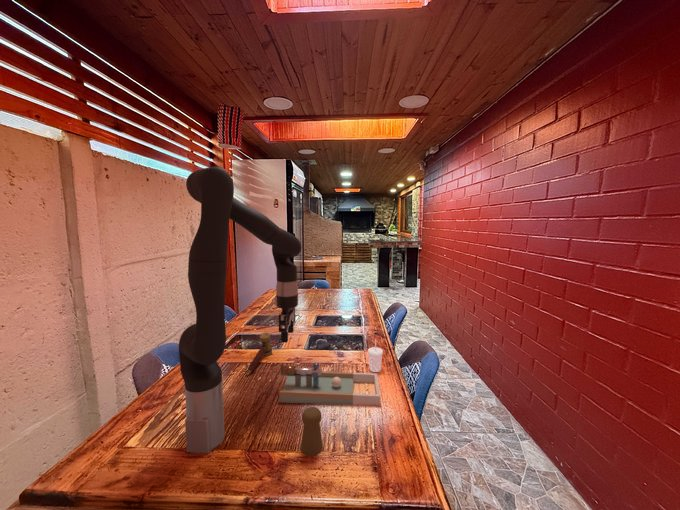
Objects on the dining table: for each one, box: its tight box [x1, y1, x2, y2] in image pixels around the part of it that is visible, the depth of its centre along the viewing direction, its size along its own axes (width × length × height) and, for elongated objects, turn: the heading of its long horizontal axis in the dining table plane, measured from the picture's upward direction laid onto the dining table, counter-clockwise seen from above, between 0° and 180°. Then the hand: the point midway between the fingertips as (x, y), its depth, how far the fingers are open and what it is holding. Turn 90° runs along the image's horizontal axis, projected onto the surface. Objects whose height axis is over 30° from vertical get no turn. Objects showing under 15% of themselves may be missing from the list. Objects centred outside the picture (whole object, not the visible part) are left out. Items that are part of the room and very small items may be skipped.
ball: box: [332, 377, 341, 387], centre depth 99 cm, size 4×4×4 cm
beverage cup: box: [367, 338, 384, 373], centre depth 113 cm, size 6×6×14 cm
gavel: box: [246, 332, 273, 376], centre depth 119 cm, size 21×5×10 cm, turn 171°
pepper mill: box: [300, 406, 324, 457], centre depth 74 cm, size 6×6×11 cm
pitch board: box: [278, 370, 381, 406], centre depth 99 cm, size 14×34×7 cm, turn 87°
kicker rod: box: [280, 362, 323, 387], centre depth 99 cm, size 3×14×8 cm, turn 87°
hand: (287, 337), depth 99 cm, fingers open, 8 cm apart
